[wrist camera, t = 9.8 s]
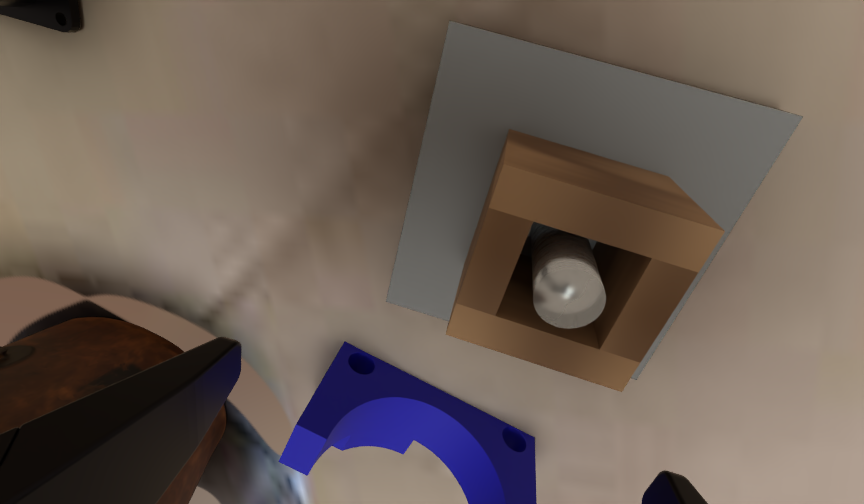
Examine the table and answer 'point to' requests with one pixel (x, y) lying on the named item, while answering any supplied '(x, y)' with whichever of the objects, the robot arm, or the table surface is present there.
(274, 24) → the table surface
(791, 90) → the table surface
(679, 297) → the wooden hollow block
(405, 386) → the blue curved bracket
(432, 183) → the post stand
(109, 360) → the brown pot
